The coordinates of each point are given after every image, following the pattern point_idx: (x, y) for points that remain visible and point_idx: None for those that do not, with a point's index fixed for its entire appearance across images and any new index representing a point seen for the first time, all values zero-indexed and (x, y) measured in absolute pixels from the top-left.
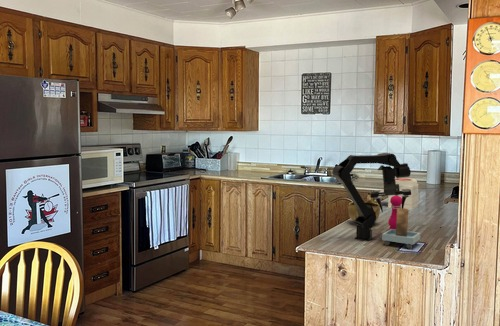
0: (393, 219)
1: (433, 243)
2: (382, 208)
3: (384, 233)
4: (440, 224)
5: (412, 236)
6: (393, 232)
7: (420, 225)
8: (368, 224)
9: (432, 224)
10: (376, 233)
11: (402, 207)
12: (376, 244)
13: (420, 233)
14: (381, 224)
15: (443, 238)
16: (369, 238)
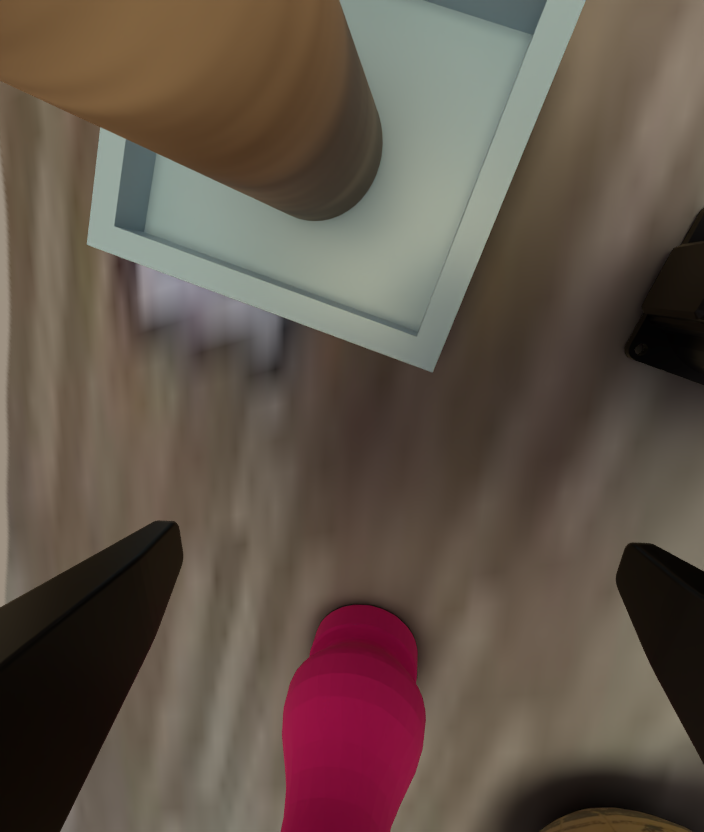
0: (372, 717)
1: (68, 311)
2: (675, 637)
3: (554, 23)
4: (81, 824)
5: (194, 236)
6: (397, 325)
7: (190, 803)
8: None
9: (123, 824)
10: (542, 558)
11: (109, 560)
12: (612, 76)
13: (91, 243)
14: (462, 826)
15: (22, 489)
16: (685, 245)
